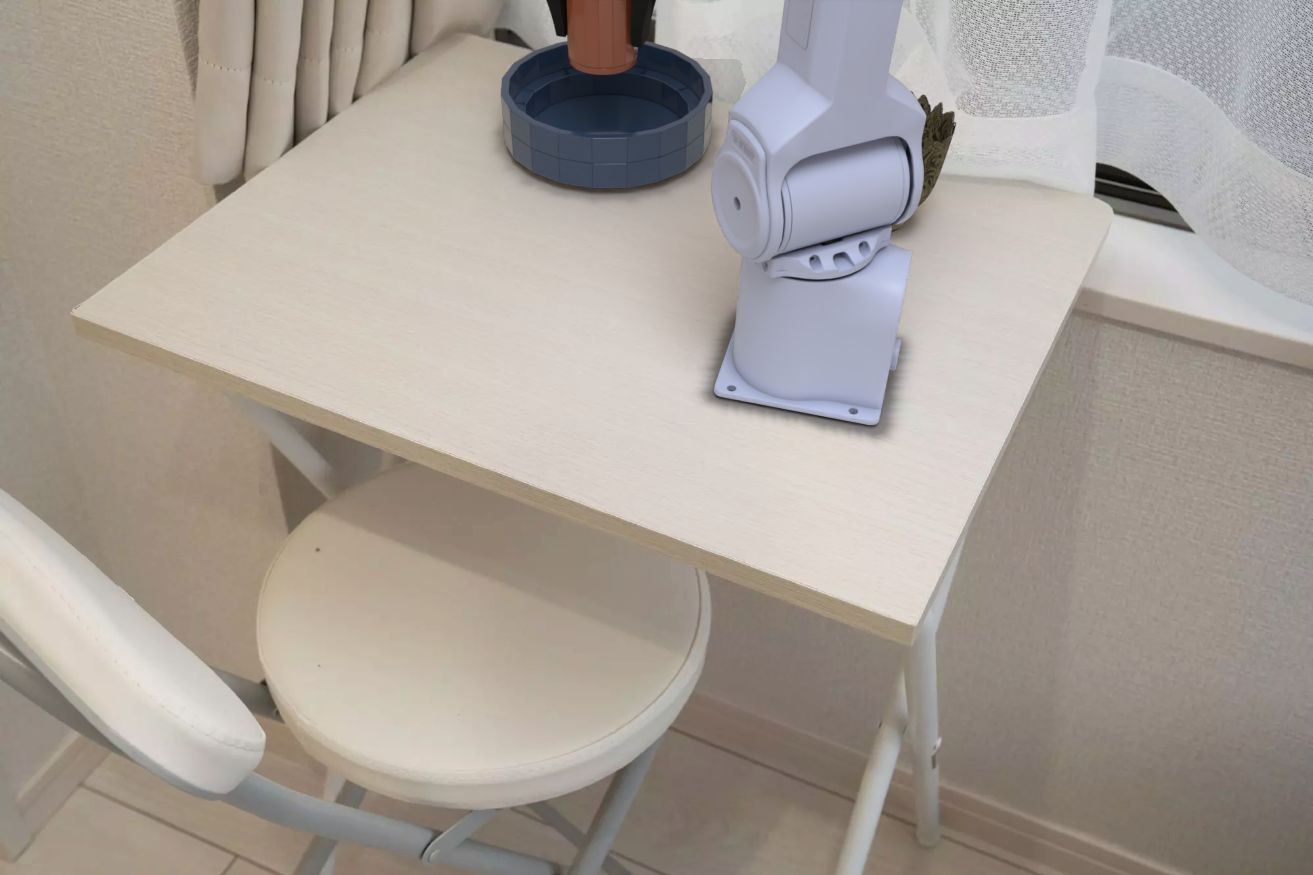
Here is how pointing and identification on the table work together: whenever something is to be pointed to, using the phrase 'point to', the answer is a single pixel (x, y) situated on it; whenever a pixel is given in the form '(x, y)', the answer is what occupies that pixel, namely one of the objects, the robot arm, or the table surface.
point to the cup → (600, 36)
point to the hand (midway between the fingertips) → (603, 36)
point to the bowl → (607, 117)
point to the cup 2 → (934, 144)
